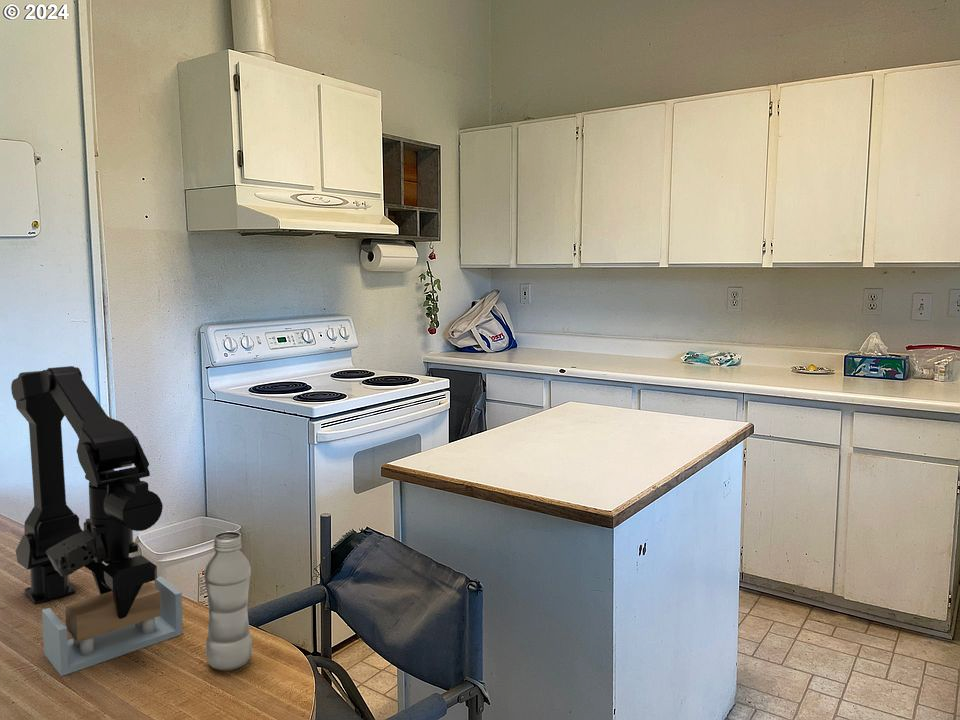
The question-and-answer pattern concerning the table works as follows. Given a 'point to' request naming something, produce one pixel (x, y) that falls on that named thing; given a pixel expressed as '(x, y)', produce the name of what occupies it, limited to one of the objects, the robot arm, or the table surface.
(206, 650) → the plastic bottle
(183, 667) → the table surface
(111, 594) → the shelf block
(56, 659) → the peg rack
